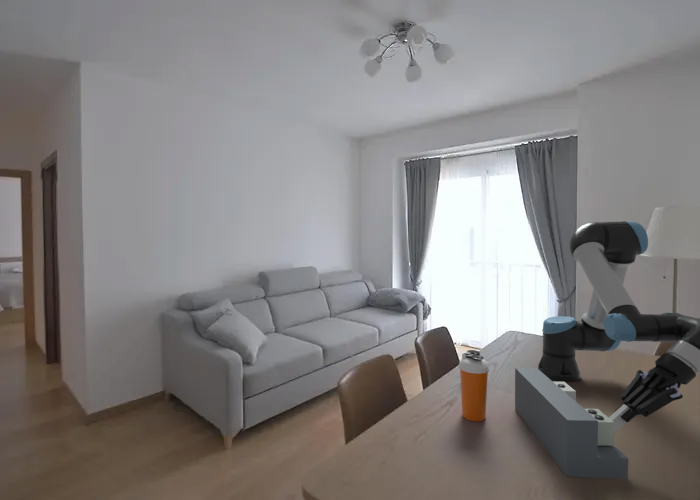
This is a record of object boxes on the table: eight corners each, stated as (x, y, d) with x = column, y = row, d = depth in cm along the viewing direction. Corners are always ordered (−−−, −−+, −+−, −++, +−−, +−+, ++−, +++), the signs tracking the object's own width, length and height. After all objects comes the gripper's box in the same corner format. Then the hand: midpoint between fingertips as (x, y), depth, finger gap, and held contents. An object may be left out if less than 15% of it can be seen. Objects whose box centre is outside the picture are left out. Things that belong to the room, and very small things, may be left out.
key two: (597, 430, 100) (597, 407, 99) (614, 445, 93) (614, 421, 92) (578, 430, 100) (578, 407, 100) (593, 445, 93) (593, 420, 93)
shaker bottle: (474, 426, 113) (474, 361, 112) (453, 413, 121) (453, 353, 120) (494, 418, 118) (494, 356, 117) (473, 407, 125) (473, 348, 124)
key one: (564, 400, 118) (564, 380, 117) (575, 411, 111) (575, 390, 110) (547, 400, 118) (547, 380, 118) (558, 410, 111) (558, 390, 111)
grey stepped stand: (558, 410, 122) (559, 368, 122) (627, 478, 89) (629, 421, 88) (515, 409, 123) (515, 367, 123) (566, 476, 90) (567, 420, 89)
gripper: (715, 384, 87) (639, 451, 89) (671, 364, 100) (605, 423, 102) (691, 361, 88) (616, 429, 90) (651, 344, 100) (586, 404, 103)
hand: (610, 425), depth 96 cm, fingers closed
